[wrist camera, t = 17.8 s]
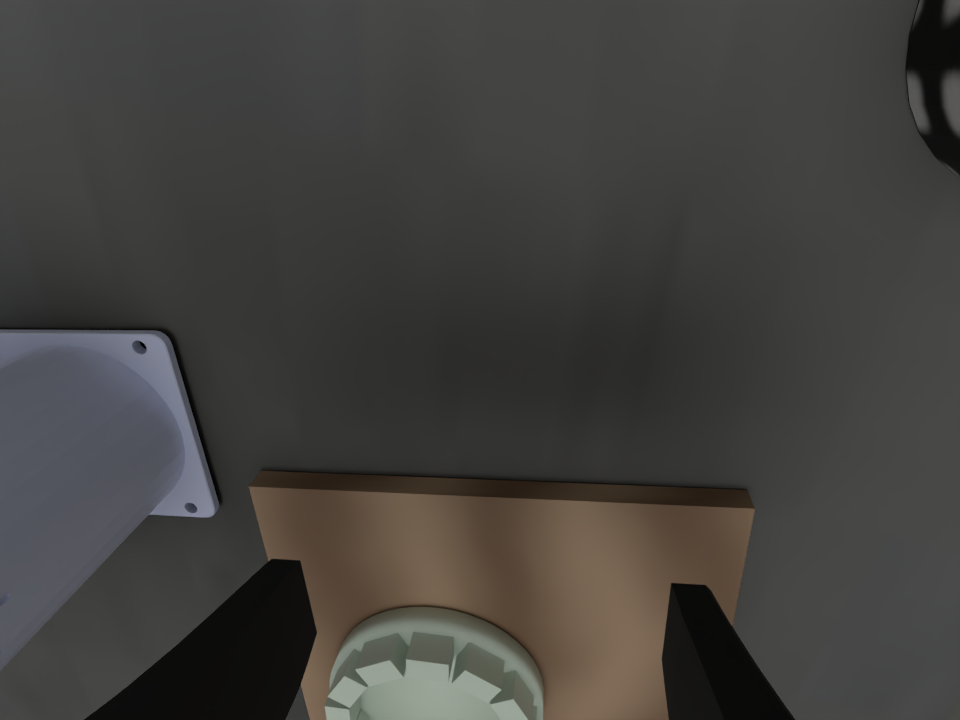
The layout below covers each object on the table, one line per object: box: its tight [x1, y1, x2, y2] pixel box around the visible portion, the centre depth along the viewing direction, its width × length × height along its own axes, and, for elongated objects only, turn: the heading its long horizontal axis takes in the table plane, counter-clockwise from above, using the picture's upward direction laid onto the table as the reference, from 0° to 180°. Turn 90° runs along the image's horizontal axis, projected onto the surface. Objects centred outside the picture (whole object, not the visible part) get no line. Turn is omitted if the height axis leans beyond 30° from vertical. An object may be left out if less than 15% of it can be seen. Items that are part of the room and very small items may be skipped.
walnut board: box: [249, 471, 755, 720], centre depth 26 cm, size 18×20×1 cm
